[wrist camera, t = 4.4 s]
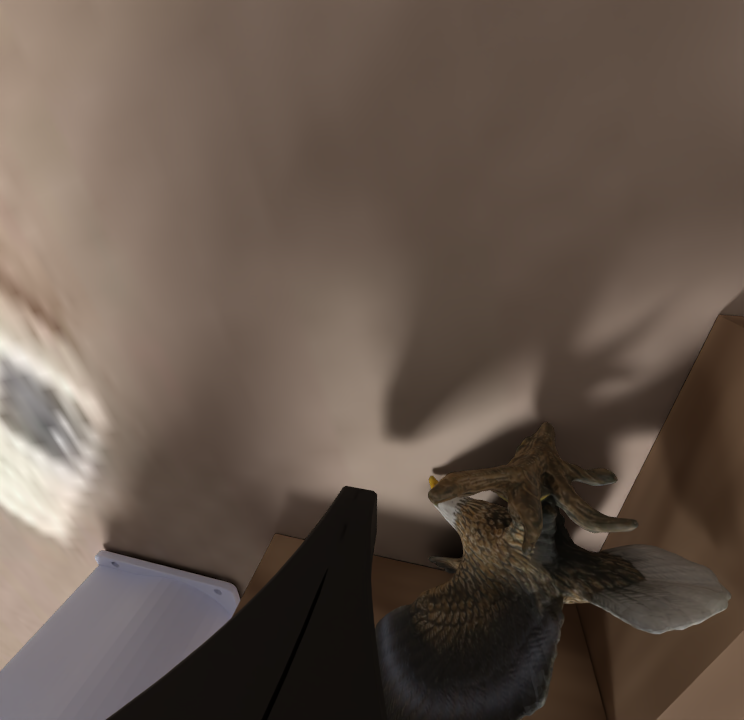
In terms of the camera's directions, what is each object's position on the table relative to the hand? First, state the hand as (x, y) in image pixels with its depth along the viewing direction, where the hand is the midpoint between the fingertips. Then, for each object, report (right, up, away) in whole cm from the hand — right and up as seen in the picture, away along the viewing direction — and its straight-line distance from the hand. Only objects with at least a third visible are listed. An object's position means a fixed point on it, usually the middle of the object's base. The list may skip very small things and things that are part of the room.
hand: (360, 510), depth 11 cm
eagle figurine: (+5, 0, +2) cm, 5 cm away
